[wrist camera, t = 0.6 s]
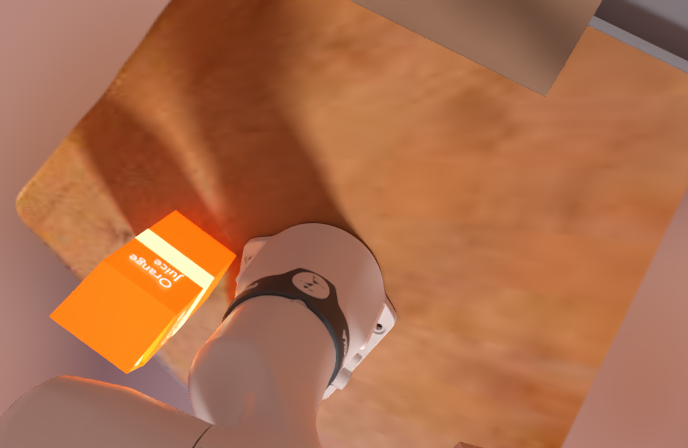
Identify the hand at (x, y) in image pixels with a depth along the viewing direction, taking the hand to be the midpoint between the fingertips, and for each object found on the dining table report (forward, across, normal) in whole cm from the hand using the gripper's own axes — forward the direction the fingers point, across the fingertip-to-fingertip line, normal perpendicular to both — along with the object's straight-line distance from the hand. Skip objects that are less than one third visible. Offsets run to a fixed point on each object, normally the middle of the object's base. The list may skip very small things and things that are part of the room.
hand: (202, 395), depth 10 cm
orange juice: (+51, -16, -39) cm, 67 cm away
